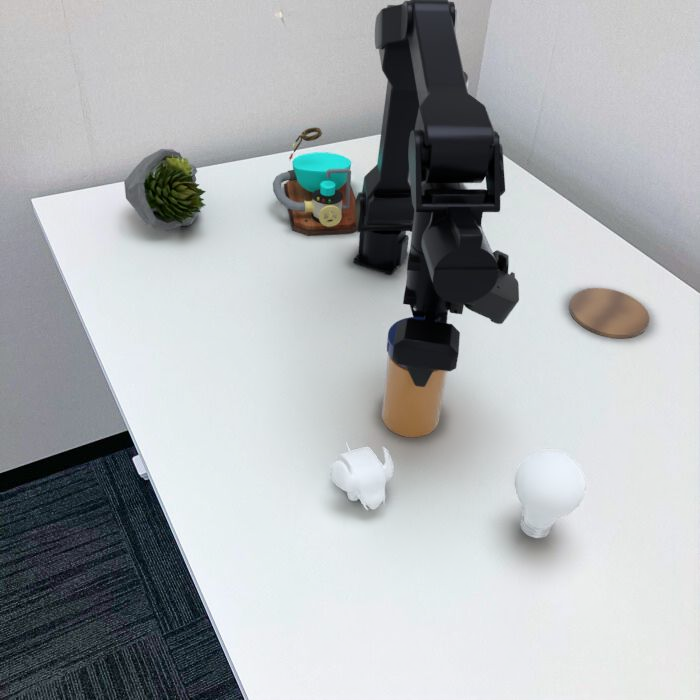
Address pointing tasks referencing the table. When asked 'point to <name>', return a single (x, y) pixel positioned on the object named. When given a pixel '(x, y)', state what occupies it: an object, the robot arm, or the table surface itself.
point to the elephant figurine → (363, 475)
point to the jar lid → (393, 332)
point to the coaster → (609, 313)
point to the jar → (411, 401)
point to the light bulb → (548, 489)
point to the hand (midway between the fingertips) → (422, 363)
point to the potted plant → (164, 190)
